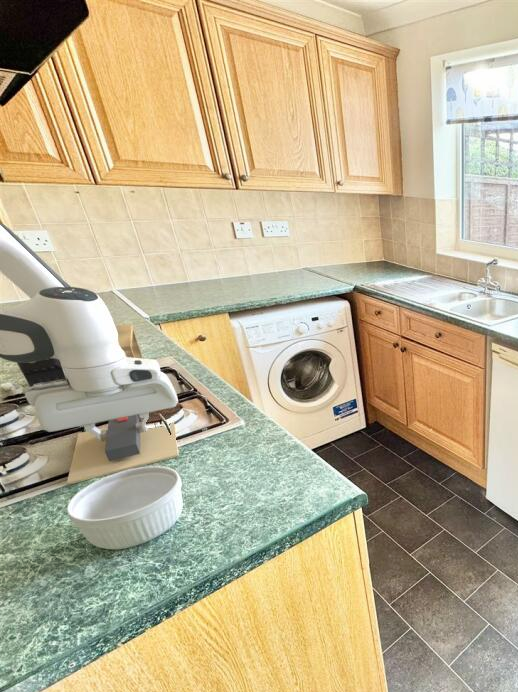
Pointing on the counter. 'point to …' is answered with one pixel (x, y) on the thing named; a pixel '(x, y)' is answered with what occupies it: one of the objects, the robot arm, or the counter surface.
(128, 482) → the ramekin
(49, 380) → the battery charger
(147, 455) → the mat
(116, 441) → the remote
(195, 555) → the counter surface
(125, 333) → the wooden crate
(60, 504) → the counter surface
